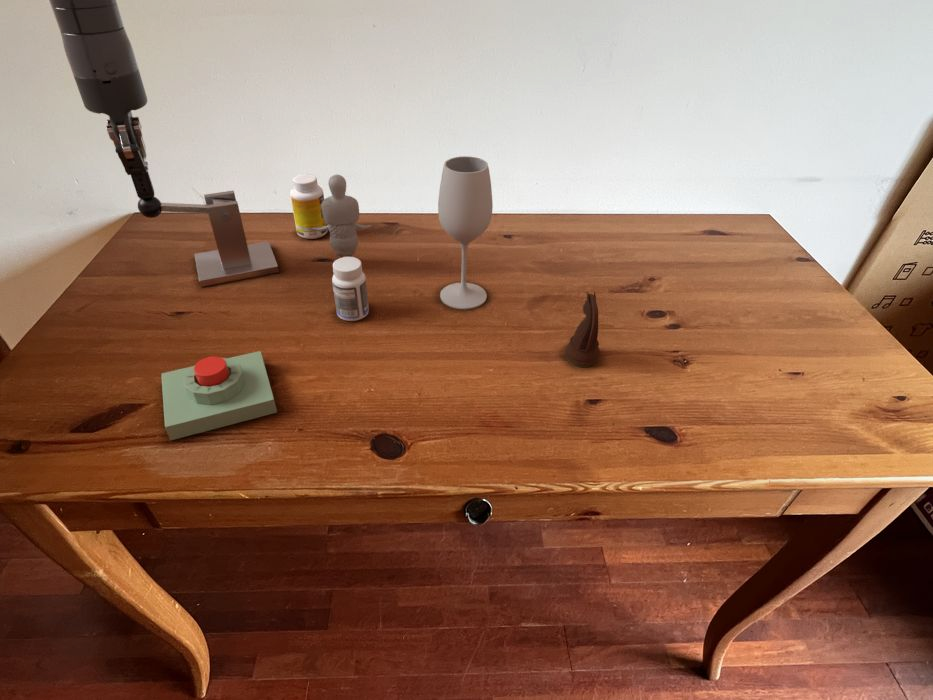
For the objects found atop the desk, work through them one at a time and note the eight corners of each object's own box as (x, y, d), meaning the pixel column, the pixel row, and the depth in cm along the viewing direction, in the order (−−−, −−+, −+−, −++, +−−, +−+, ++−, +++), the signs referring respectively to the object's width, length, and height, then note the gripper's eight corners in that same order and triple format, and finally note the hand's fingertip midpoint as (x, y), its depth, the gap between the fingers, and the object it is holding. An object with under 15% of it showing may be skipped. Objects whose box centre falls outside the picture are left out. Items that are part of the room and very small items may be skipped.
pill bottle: (356, 300, 92) (350, 251, 87) (375, 313, 90) (371, 263, 84) (330, 312, 90) (323, 262, 84) (349, 326, 87) (342, 276, 82)
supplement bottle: (329, 238, 107) (321, 183, 101) (297, 241, 106) (287, 186, 100) (327, 224, 112) (320, 171, 105) (296, 227, 111) (287, 173, 104)
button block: (170, 440, 69) (160, 415, 67) (166, 386, 76) (156, 362, 74) (277, 412, 73) (271, 388, 71) (263, 363, 80) (257, 339, 78)
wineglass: (434, 307, 91) (432, 173, 78) (444, 280, 97) (443, 152, 84) (484, 312, 90) (490, 178, 77) (490, 285, 96) (497, 156, 83)
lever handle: (138, 221, 88) (137, 200, 86) (138, 211, 90) (136, 191, 88) (234, 224, 93) (234, 204, 92) (231, 215, 96) (231, 196, 94)
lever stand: (200, 287, 94) (180, 217, 87) (196, 260, 101) (176, 193, 93) (279, 272, 98) (265, 204, 91) (269, 247, 105) (256, 181, 97)
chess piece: (593, 345, 85) (605, 285, 78) (603, 369, 81) (616, 307, 74) (561, 347, 84) (570, 286, 78) (569, 370, 80) (580, 308, 74)
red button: (198, 390, 70) (194, 378, 69) (196, 371, 73) (192, 360, 72) (231, 382, 72) (227, 371, 71) (227, 364, 74) (224, 353, 73)
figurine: (374, 253, 103) (367, 169, 94) (375, 265, 100) (368, 179, 91) (318, 256, 102) (305, 171, 93) (317, 268, 99) (303, 181, 90)
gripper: (75, 58, 80) (118, 182, 91) (68, 84, 71) (117, 219, 82) (136, 53, 83) (172, 175, 94) (138, 79, 73) (177, 211, 84)
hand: (146, 196), depth 88 cm, fingers closed
